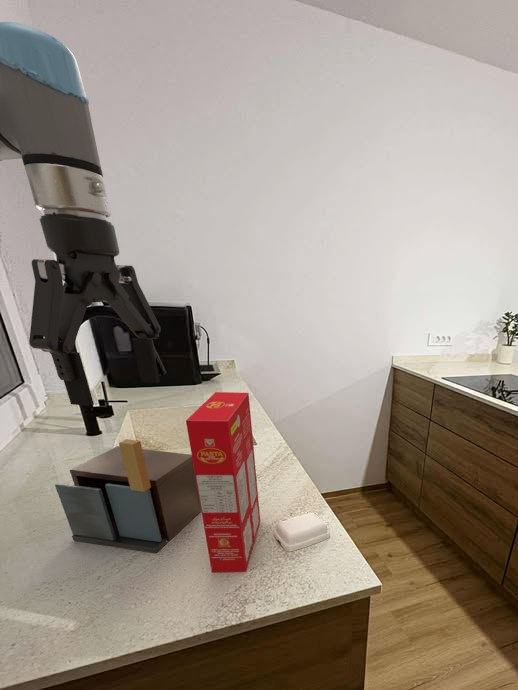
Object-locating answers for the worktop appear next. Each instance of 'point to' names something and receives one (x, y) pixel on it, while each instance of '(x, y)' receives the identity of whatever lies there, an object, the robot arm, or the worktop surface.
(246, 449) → the food packaging
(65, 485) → the cabinet
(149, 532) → the grey door panel
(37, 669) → the worktop surface
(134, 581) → the worktop surface
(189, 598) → the worktop surface
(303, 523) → the soap
